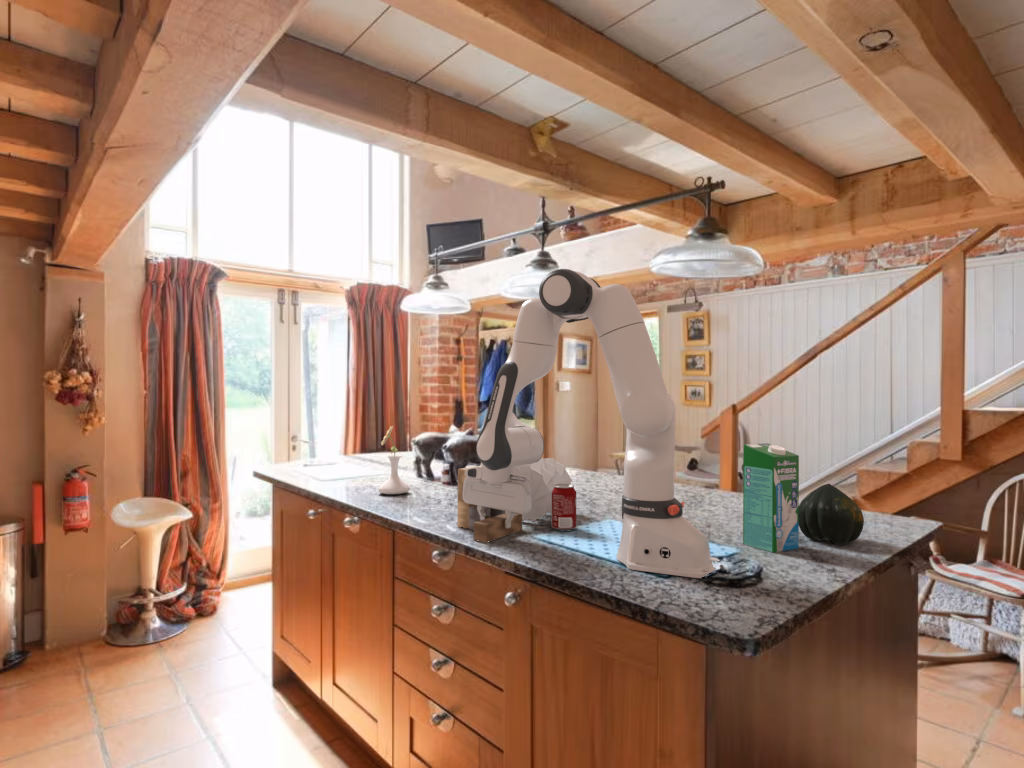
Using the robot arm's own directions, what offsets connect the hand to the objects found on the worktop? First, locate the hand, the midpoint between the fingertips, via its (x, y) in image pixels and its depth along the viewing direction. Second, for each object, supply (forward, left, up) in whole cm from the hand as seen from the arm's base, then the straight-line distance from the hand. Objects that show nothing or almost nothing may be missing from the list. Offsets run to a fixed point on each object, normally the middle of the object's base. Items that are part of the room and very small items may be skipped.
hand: (495, 525), depth 154 cm
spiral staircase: (+4, -25, -3) cm, 26 cm away
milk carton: (-61, -31, -3) cm, 69 cm away
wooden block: (-1, 0, -3) cm, 3 cm away
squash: (-72, -46, -3) cm, 86 cm away
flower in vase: (+65, -25, -3) cm, 70 cm away
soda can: (-11, -16, -3) cm, 20 cm away
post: (+9, -5, -3) cm, 10 cm away
